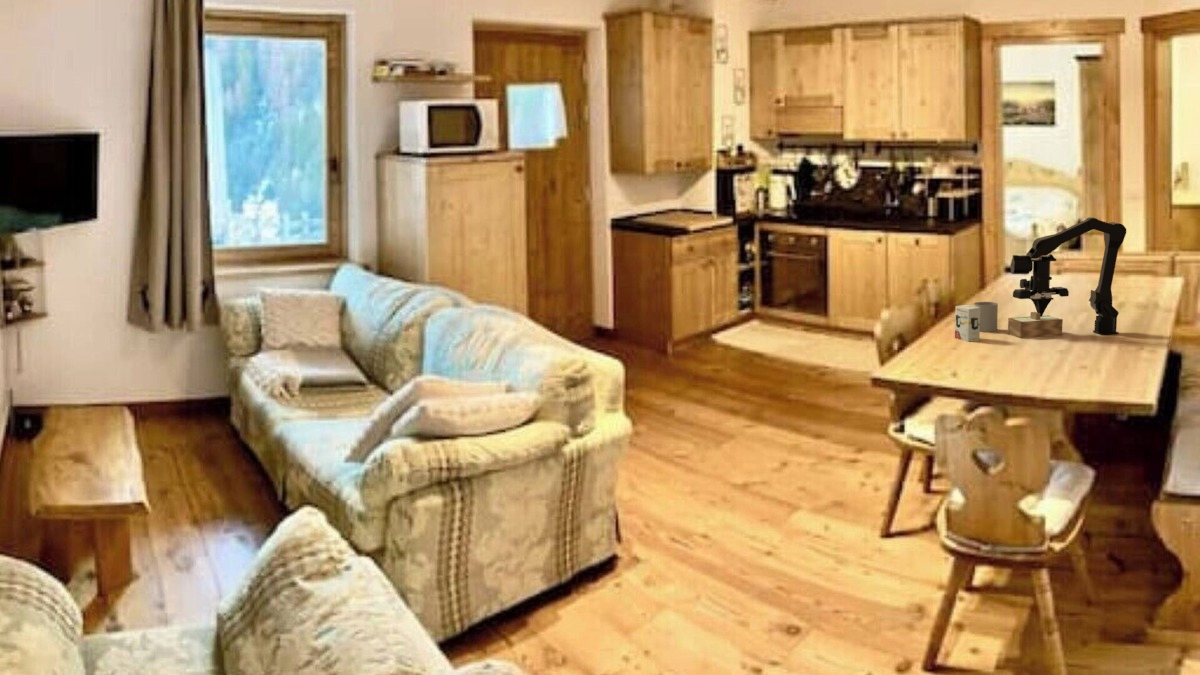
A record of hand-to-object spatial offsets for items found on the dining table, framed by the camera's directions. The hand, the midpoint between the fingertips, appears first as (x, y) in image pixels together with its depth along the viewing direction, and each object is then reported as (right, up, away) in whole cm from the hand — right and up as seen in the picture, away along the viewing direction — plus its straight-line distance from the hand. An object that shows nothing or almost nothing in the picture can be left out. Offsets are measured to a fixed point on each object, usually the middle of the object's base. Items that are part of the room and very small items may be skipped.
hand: (1040, 316), depth 434 cm
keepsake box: (-2, -6, +1) cm, 7 cm away
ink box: (-27, -8, -3) cm, 29 cm away
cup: (-16, -5, +13) cm, 21 cm away
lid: (-1, -1, 0) cm, 2 cm away
